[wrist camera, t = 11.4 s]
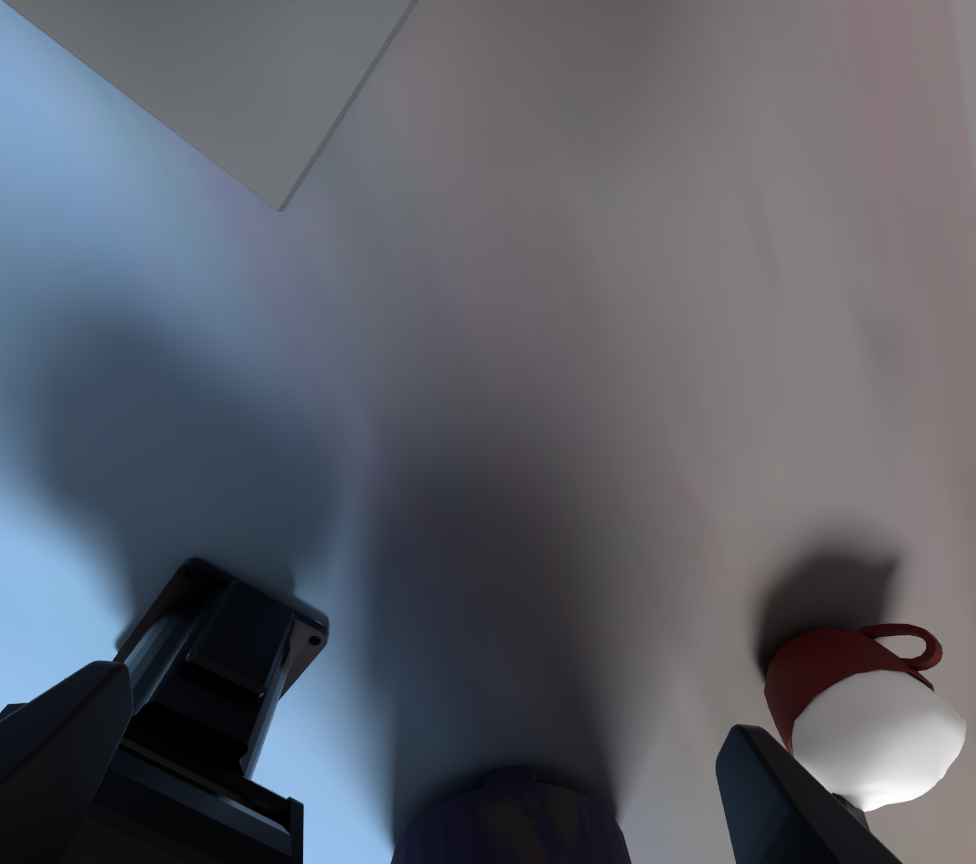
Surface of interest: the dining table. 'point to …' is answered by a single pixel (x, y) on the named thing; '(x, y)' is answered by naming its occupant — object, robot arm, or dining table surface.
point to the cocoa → (863, 715)
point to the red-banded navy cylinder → (514, 826)
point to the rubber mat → (233, 71)
